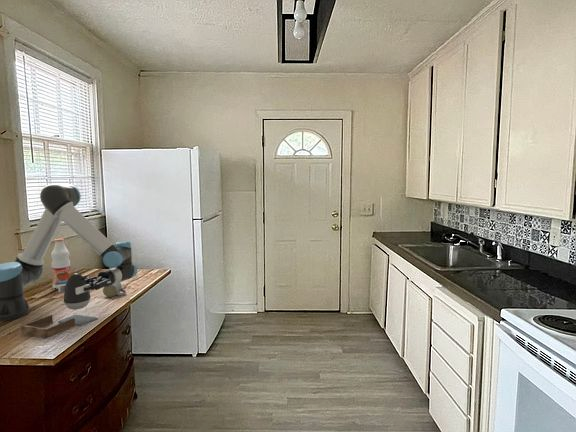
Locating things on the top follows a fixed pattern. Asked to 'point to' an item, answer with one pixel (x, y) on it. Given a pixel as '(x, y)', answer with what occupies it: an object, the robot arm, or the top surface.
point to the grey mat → (79, 319)
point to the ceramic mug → (114, 290)
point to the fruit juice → (60, 264)
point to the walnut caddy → (36, 330)
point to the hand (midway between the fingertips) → (67, 290)
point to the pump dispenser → (70, 295)
